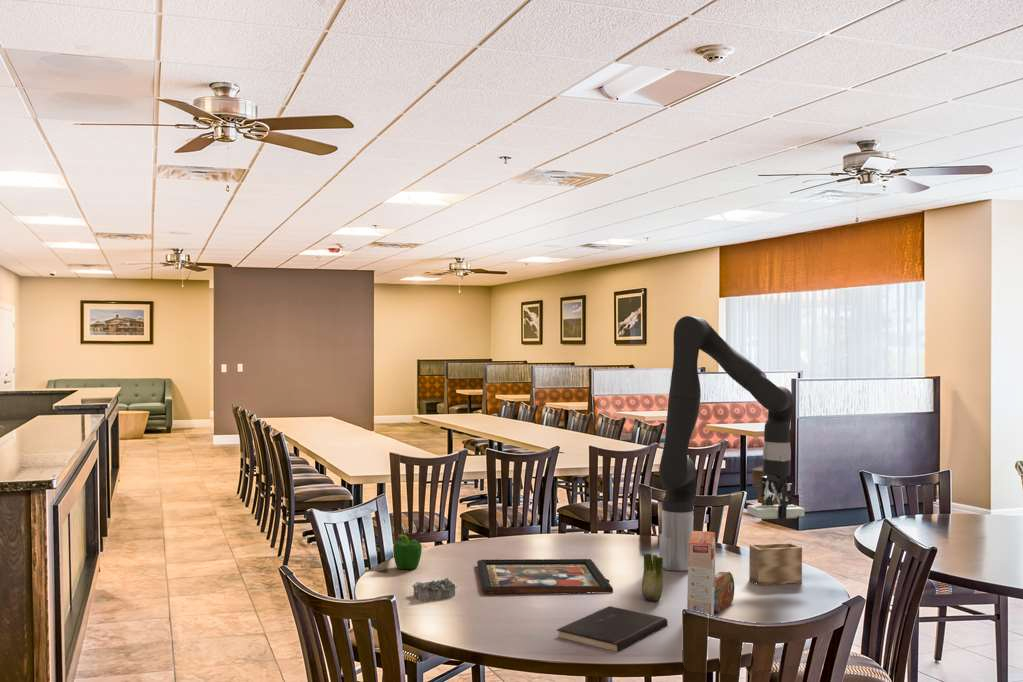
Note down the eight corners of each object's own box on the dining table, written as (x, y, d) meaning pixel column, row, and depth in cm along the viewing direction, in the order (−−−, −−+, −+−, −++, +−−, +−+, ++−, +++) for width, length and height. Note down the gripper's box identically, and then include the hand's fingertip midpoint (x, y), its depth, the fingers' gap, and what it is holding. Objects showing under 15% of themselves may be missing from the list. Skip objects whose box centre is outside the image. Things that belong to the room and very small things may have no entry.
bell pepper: (424, 565, 264) (424, 531, 264) (418, 572, 256) (418, 537, 256) (396, 564, 265) (396, 530, 265) (390, 571, 257) (390, 536, 257)
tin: (714, 616, 216) (714, 582, 216) (702, 614, 218) (702, 580, 218) (735, 601, 228) (735, 569, 228) (723, 599, 230) (724, 567, 230)
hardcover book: (556, 639, 200) (556, 629, 200) (609, 615, 218) (609, 605, 218) (618, 654, 190) (618, 643, 190) (667, 628, 208) (667, 618, 208)
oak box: (759, 585, 244) (759, 549, 244) (749, 580, 249) (749, 544, 249) (801, 583, 247) (802, 547, 247) (790, 577, 252) (791, 542, 252)
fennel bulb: (665, 602, 227) (665, 555, 227) (648, 603, 226) (648, 557, 226) (654, 596, 233) (655, 550, 233) (638, 597, 231) (638, 552, 231)
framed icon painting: (486, 601, 229) (486, 589, 229) (465, 568, 263) (465, 559, 263) (625, 595, 236) (625, 584, 236) (587, 564, 271) (587, 555, 271)
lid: (758, 520, 243) (758, 508, 243) (747, 515, 250) (747, 504, 250) (804, 518, 246) (804, 507, 246) (791, 514, 253) (792, 503, 253)
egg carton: (419, 603, 226) (419, 587, 226) (410, 595, 233) (410, 579, 233) (458, 598, 230) (458, 582, 230) (448, 590, 237) (448, 575, 237)
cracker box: (712, 634, 202) (713, 543, 202) (686, 632, 204) (686, 541, 204) (715, 616, 215) (716, 531, 216) (690, 614, 217) (691, 529, 217)
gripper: (752, 454, 254) (751, 512, 254) (777, 461, 240) (776, 522, 240) (775, 454, 256) (774, 511, 256) (802, 461, 242) (801, 521, 242)
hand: (775, 516), depth 248 cm, fingers closed on lid, 6 cm apart
